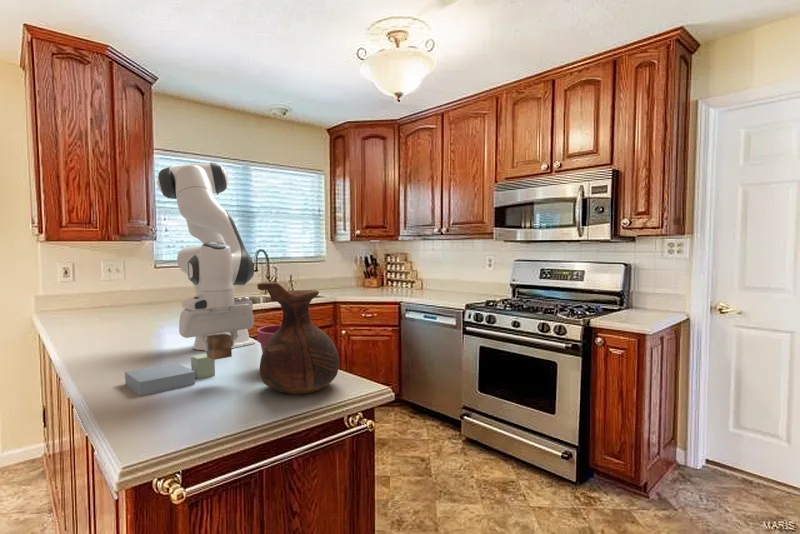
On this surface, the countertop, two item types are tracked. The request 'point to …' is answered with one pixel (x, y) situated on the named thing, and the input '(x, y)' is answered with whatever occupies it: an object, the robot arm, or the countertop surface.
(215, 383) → the countertop surface
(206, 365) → the sage block
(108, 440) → the countertop surface
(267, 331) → the plant pot
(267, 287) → the jug
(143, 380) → the slate base block
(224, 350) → the walnut block
